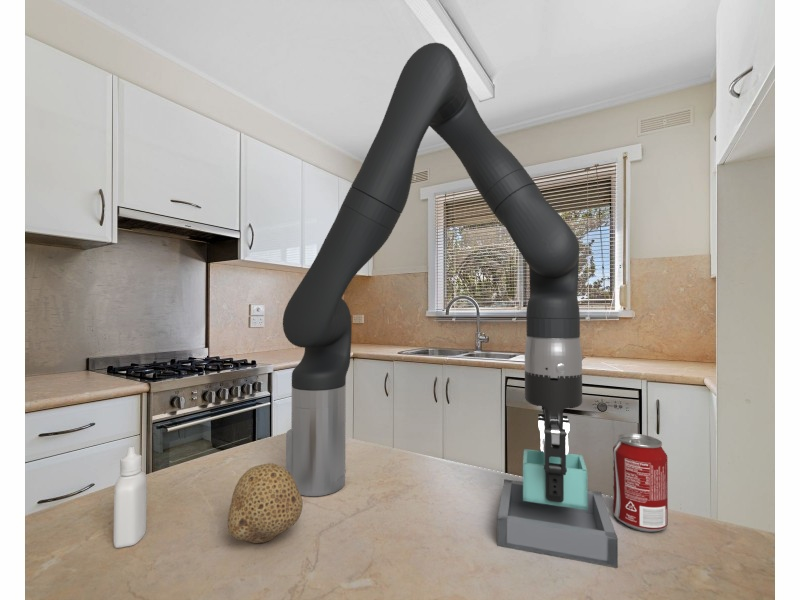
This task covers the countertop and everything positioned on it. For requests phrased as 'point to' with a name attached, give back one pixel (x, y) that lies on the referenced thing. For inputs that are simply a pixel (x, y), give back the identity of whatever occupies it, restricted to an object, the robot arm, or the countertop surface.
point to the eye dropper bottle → (130, 501)
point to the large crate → (557, 527)
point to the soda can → (640, 482)
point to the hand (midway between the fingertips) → (553, 489)
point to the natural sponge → (264, 504)
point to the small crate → (572, 480)
